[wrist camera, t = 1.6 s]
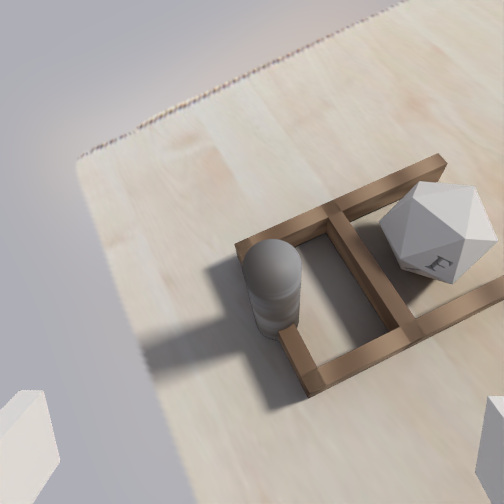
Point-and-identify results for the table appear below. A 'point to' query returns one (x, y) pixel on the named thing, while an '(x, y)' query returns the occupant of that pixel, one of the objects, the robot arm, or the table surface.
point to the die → (439, 230)
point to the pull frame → (363, 269)
